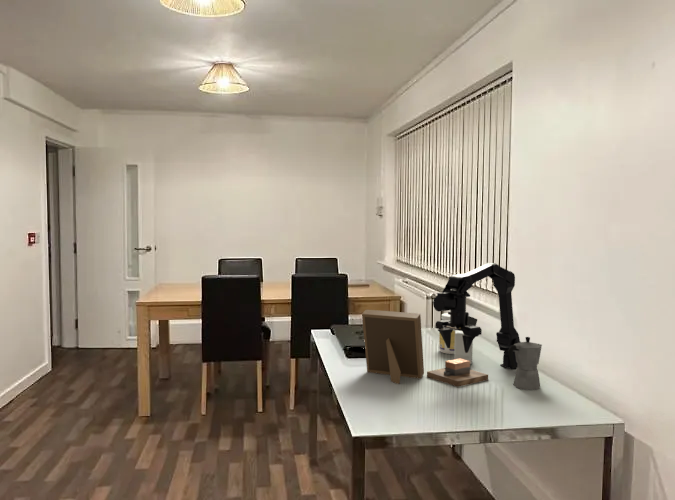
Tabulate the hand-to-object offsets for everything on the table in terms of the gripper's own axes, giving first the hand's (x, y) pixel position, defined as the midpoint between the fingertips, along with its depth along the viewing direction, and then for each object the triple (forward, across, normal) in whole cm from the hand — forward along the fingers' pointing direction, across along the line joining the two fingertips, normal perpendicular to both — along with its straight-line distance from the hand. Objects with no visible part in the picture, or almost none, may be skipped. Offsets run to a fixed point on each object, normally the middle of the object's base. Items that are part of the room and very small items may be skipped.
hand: (457, 350), depth 219 cm
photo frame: (+11, +15, +20) cm, 27 cm away
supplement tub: (+11, +32, -30) cm, 45 cm away
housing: (+9, 0, 0) cm, 9 cm away
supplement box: (+11, +17, -21) cm, 29 cm away
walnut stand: (+11, 0, 0) cm, 11 cm away
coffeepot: (+11, -21, -12) cm, 27 cm away
